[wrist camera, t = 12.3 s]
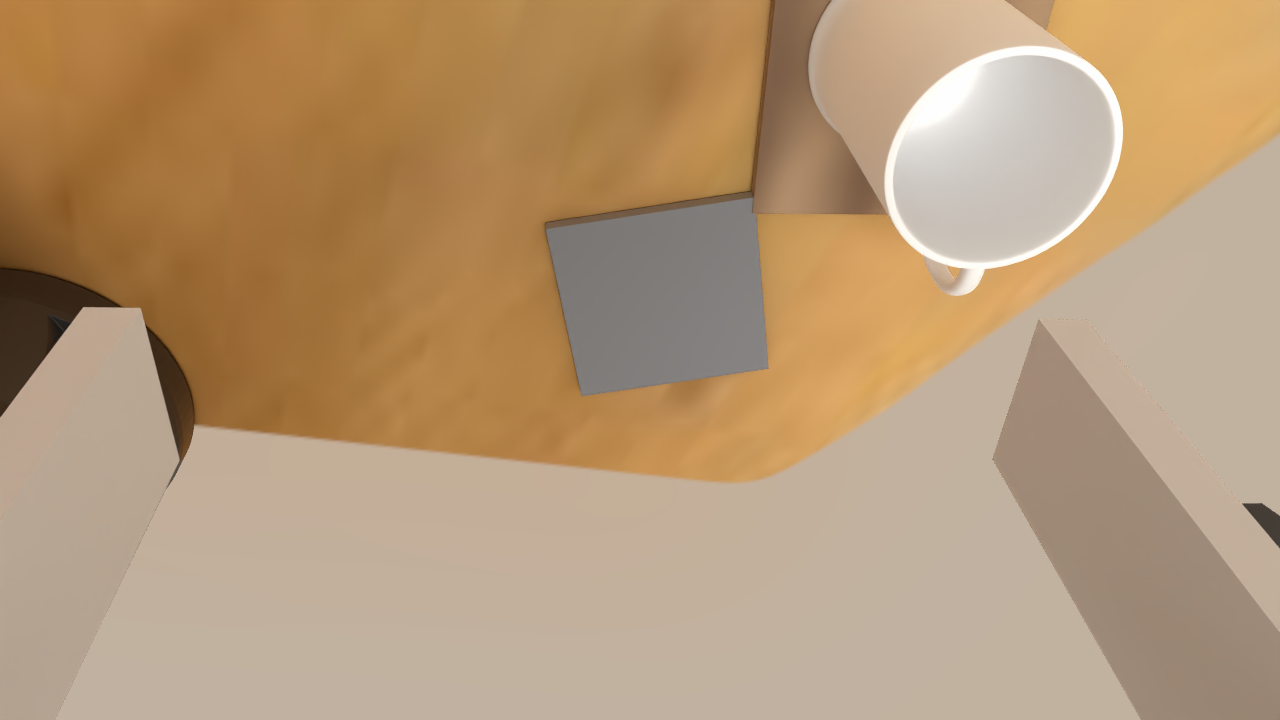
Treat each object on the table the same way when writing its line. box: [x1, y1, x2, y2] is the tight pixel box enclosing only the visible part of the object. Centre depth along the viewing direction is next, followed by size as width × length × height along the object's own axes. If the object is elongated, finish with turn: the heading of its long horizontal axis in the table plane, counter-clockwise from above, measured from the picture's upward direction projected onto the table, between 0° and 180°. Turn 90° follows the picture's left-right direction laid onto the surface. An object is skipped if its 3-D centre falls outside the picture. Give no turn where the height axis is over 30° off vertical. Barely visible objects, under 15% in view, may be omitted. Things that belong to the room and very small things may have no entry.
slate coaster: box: [546, 191, 768, 396], centre depth 50 cm, size 10×10×1 cm
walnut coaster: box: [751, 0, 1054, 214], centre depth 45 cm, size 12×12×1 cm
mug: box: [808, 0, 1123, 296], centre depth 39 cm, size 12×8×12 cm
